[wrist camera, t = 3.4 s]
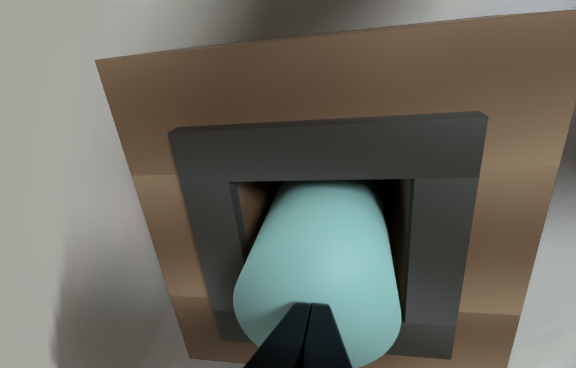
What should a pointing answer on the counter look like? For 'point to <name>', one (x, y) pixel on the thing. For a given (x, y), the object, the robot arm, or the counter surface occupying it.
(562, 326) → the counter surface
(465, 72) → the socket block
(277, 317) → the peg
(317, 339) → the robot arm
